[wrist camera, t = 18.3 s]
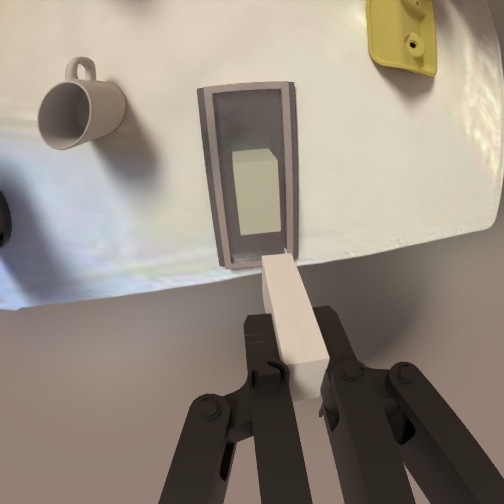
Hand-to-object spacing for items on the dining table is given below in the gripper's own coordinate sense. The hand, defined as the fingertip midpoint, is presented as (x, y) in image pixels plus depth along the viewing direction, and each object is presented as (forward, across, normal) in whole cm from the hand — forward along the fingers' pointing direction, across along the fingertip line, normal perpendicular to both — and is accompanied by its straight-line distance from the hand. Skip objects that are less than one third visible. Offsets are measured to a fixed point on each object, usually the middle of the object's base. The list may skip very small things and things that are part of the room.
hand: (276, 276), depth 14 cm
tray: (+28, +1, -3) cm, 28 cm away
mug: (+28, -20, +13) cm, 37 cm away
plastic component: (+28, +26, +25) cm, 45 cm away
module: (+27, +1, -3) cm, 27 cm away
